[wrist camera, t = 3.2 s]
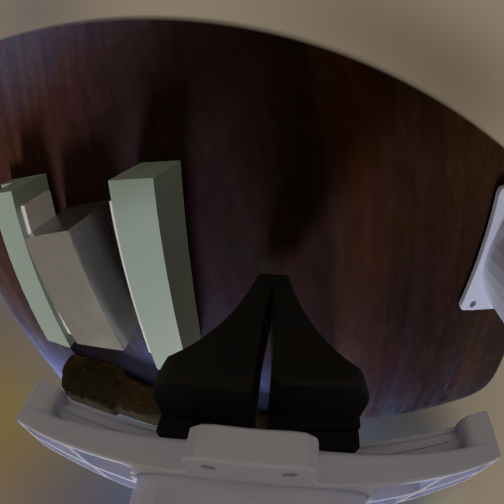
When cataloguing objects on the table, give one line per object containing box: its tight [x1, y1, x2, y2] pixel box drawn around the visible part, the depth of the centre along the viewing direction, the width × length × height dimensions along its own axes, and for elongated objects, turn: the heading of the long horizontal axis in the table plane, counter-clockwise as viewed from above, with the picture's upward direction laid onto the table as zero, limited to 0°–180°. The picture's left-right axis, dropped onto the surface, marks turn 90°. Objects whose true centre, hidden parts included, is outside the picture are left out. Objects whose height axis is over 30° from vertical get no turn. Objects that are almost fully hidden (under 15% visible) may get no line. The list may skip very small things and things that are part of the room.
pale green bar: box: [0, 173, 75, 348], centre depth 15 cm, size 4×11×3 cm, turn 0°
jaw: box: [108, 161, 201, 370], centre depth 14 cm, size 2×11×3 cm, turn 0°
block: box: [24, 199, 139, 351], centre depth 14 cm, size 4×7×4 cm, turn 7°
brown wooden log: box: [62, 354, 268, 429], centre depth 20 cm, size 19×4×5 cm, turn 73°
